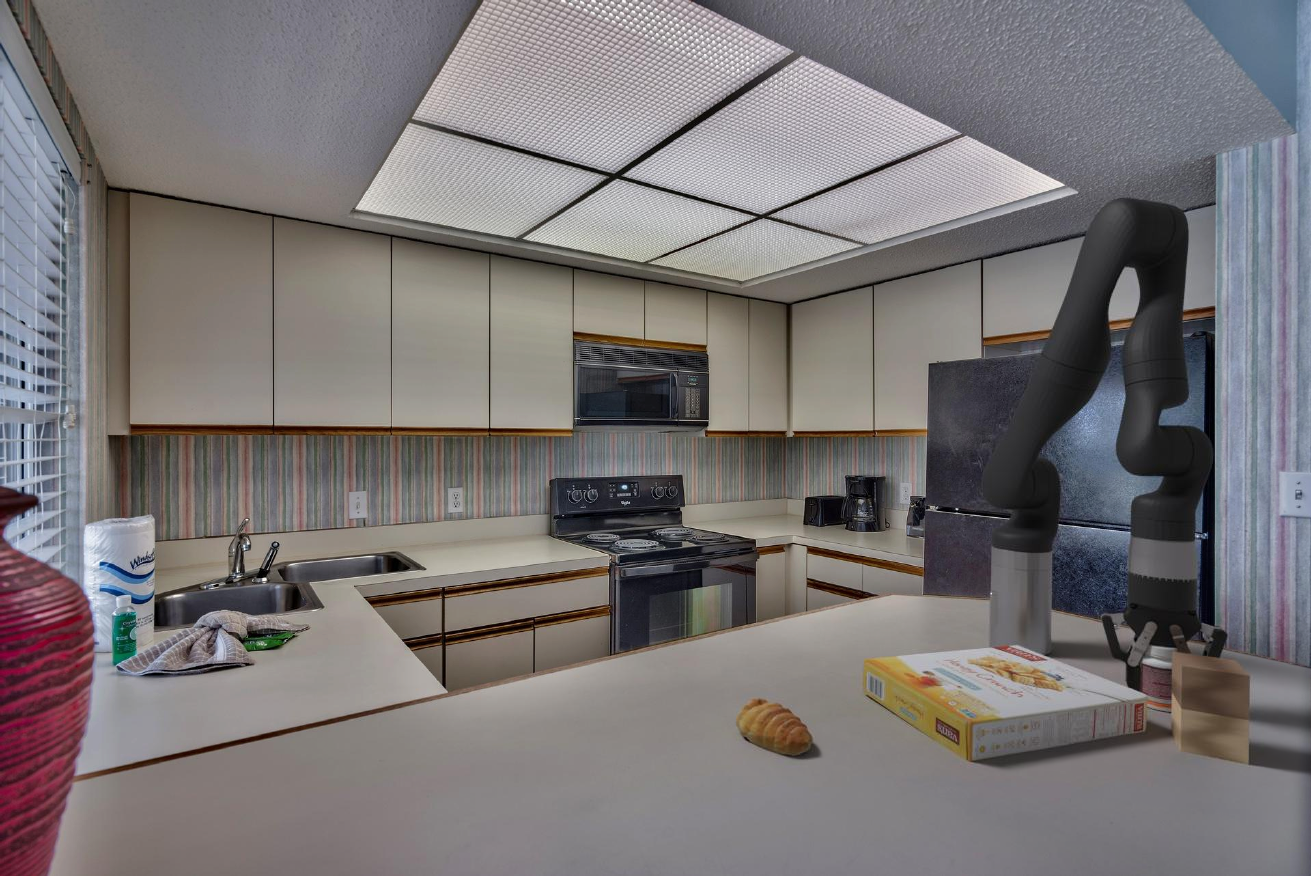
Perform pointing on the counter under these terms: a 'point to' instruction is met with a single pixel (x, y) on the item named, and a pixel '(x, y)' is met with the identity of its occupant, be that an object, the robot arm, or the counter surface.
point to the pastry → (773, 727)
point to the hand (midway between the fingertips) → (1159, 695)
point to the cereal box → (1002, 700)
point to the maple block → (1210, 734)
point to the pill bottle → (1157, 677)
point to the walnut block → (1210, 685)
